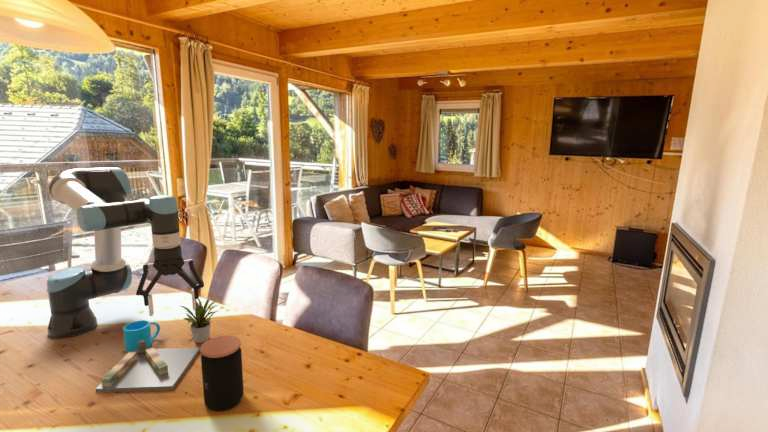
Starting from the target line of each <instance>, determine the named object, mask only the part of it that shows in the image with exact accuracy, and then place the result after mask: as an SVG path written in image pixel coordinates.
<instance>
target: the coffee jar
mask: <svg viewBox="0 0 768 432" xmlns="http://www.w3.org/2000/svg"><path fill="white" fill-rule="evenodd" d="M241 345H242V343H241V339H240V338H239V337H237V336H234V335H219V336H215V337H212V338H209V339H208V340H207V341H205V342H202V343H201V346H200V347H199V348H200V354H201V355H200V365H201V366H200V367H201V374H202V375H201V377H202V379H201V380H202V390H203V400H204V401H203V402H204V406H206V407H207V408H208V409H209V410H210V411H213V412H225V411H229V410H232V409H233V408H234V407H236V406H237V405H238V404H240V402H241V400H242V399H243V397H244V378H243V377H244V376H243V375H244V374H243V358H242V357H243V355H242V348H241Z"/></svg>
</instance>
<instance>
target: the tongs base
mask: <svg viewBox="0 0 768 432" xmlns="http://www.w3.org/2000/svg"><path fill="white" fill-rule="evenodd" d="M145 350H146V341H145V340H141V341H138V352H128V351H127V352H128V353H126V354H125V355H124V356H123V357H122V358H121V359H120V360H119V361H118V362H117V363H116V364H115V365H114V366H113V367H112V368H111V369H110V370H109V371H107V373H106V374H105V375H104V376H103V377H102V378H101V380H100V381H101V383H102V387H106V386H112V385H113V384H114V383H115V382H116V381H117V379H118V378H119V377H120V376H121V375H122V374H123V373H124V372H125V371H126V370H127V369H128V368H129V367H130V366H131V365H132V364H133V363H134V362H135V361H136V360H137V357H144V356H146V351H145Z"/></svg>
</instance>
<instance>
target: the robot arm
mask: <svg viewBox="0 0 768 432" xmlns="http://www.w3.org/2000/svg"><path fill="white" fill-rule="evenodd" d="M48 191H49V193H50V194H49V195H50V196H51V197H52V198H53V199H54V201H56V202H58V203H60V204H63V205H66V206H68V207H69V208H70V209H71V210H72V211H74V212H75V213H76V220H77V224H78V226H79V227H80V229H81V230H82V231H83V232H93V234H94V253H95V260H93V261H92V263H91V264H90V269H87V270H85V269H84V268H83V267H76V268H67V269H63V270H61V271H58V272H55V273H54V274H52V275H50V276H49V277H48V279H47V280H46V292H47V296H48V301H49V309H50V318H49V321H48V327H47V334H48V336H49V337H50V338H53V339H63V338H71V337H75V336H79V335H82V334H84V333H87V332H89V331H91V330H93V329H94V328H95V327H96V326H97V325H98V319H97V316H96V315H95V314H94V312H93V310H92V308H91V307H90V302H89V300H93V299H97V298H100V297H104V296H108V295H111V294H112V295H113V294H119V293H121V292H123V291H126V290H128V289H129V288H130V286H131V284H132V281H133V273H132V268H131V265H130V264H129V263H127V262H126V260H125V259H124V258H122V228H123V227H131V226H138V225H144V224H149V225H150V229H151V236H152V237H151V238H152V246H153V247H154V248H153V258H154V262H151V263H150V262H145V263H144V264H143V265H142V271H143V272H142V275H141V278H140V281H139V284H138V286H137V289H136V292H135V294H136V296H141V297H143V303H144V306H145V307H147V306H148V314H149V317H153V316H154V313H155V310H154V302H153V293H150V292H151V291H152V289H153V288H154V286H155V285H156V283H157V282H158V281H159V279H160V278H161V276H165V277H166V276H169V275H171V276H175V275H176V274H177V275H178V276H179V277H181V278H182V279H183V280H184V281H185V282H186V283H187V284H188V286H190V287H191V302H192V311H195V310H196V301H197V300H198V298H199V297H200V293H199V289H202V288H204V286H205V282H204V280H203V278H202V277H201V275H200V273H199V271H198V269H197V268H196V266H195V260H194V258H189V259H184V258H183V252H182V245H181V243H182V241H181V239H182V238H181V230H180V217H179V216H180V215H179V206H178V201H177V197H176V196H174V195H167V194H166V195H165V194H163V195H154V196H150V197H145V198H139V199H137V200H130V201H126V198H129V197H130V196H131V194H132V186H131V182H130V179H129V176H128V175H127V173H126V172H125V170H124V169H122V168H121V167H115V166H114V167H111V166H110V167H109V166H107V167H89V168H88V167H86V168H71V169H66V170H64V171H61V172H59V173H58V174H56V175H55V176H53V178H51V180H50V182H49V184H48ZM184 265H186V266H187V267H189V270H190V271H191V272H190V273H192V275H193V277H194V279H195V280H196V282H195V280H193V278H191V277H190V275H189V274H188V273H186V271H185V270H184V269H183V268H182V267H183V266H184ZM152 269H155V270H156V271H157V272H156V273H155V275H154V277H153V278H152V280H151V281H150V283H149V284H148V285H147V287H146V289H145V290H144V286H145V283H146V280H147V277H148V274H149V272H150V271H151V270H152ZM199 299H200V298H199ZM195 300H196V301H195Z"/></svg>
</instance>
